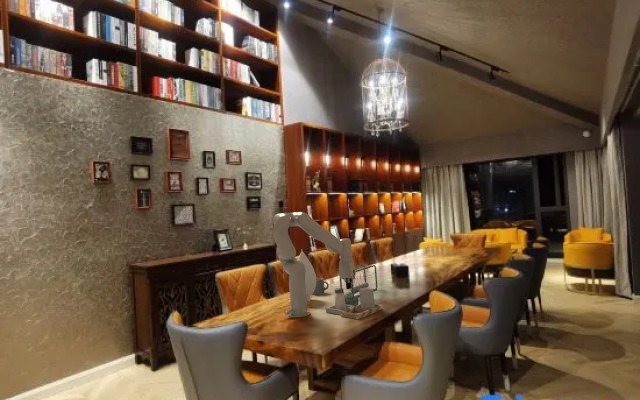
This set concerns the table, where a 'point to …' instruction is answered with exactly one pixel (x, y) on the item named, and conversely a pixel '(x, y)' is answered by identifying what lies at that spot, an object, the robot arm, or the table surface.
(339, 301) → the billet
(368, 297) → the supplement box
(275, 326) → the table surface
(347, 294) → the button
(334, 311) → the frame
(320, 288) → the coffee mug
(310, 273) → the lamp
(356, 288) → the newton's cradle
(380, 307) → the wooden frame with crossbar
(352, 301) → the grey square holder
